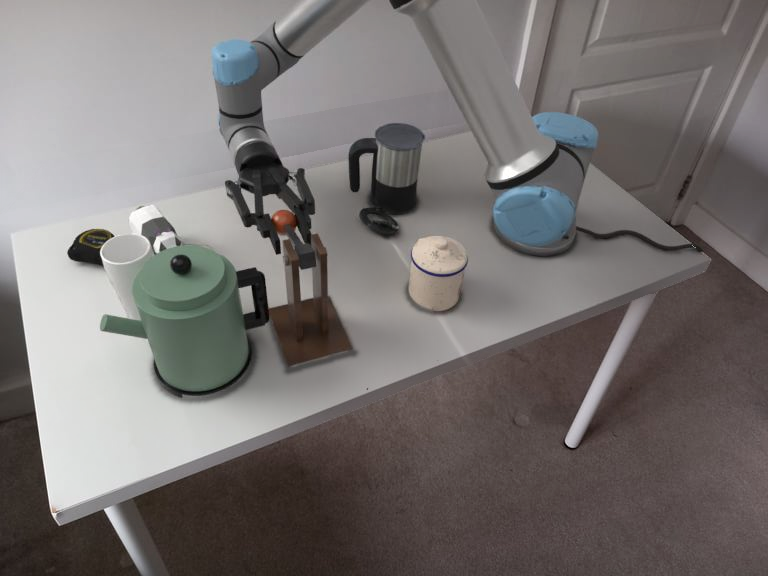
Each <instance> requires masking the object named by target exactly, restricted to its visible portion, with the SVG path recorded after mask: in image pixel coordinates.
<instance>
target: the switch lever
mask: <svg viewBox="0 0 768 576" xmlns="http://www.w3.org/2000/svg"><path fill="white" fill-rule="evenodd" d="M271 220H272V222H273V225H274V227H275V229H276V232H277V234H278V236H281V237H287V239H290V241H291V244H292V246H293V248H294V250H295V253H296V255H297V257H298V260H299V270H301V271H304V270H308V269H312V268H313V267H316V257H315V251H314V250H313V248H312V247H311V245H310V244H309V243H307V244H305V243H304V242H302V240H301V238H300V237H299V236H298V234H297V232H296V229H297V219H296V217H295V214H294V213H293V212H292V211H291V210H288V209H279V210H277V211H275V212H274V213H273V214H272V216H271Z"/></svg>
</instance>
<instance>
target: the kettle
mask: <svg viewBox="0 0 768 576" xmlns="http://www.w3.org/2000/svg"><path fill="white" fill-rule="evenodd" d="M247 287H250V288H251V294H252V302H253V303H252V304H253V310H254V311H250V312H246V313H244V311H243V305H242V299H241V292H240V289H242V288H247ZM132 295H133V298H134V301H135V304H136V307H137V310H138V313H139V316H140V319H141V321H139V320H134V319H129V318H128V317H122V316H117V315H112V314H106V313H104V315H102V317H101V320H100V323H99V330H100V331H101V332H104V333H109V334H115V335H122V336H128V337H134V338H140V339H146V340H147V342H148V346H149V348H150V351H151V353H152V356H153V370H154V374H155V377H156V379H157V381H158V383H159V384H160V385H161V387H162V388H163V389H164V390H165V391H166V392H168V393H169V394H171V395H173V396H175V397H178V398H181V399H183V396H189V397H201V396H208V395H213V394H215V393H219V392H221V391H223V390H226V389H228V388H230V387H231V386H233V385H234V384H235V383H237V382H238V381H240V379H241V378H242V377H243V376H244V374H246V372H247V370H248V369H249V367H250V365H251V363H252V359H253V346H252V342H251V340H250V338H249V336H248V335H247V331H249V330H252V329H257V328H260V327H264V326H266V324H268V323H269V322H270V320H271V318H270V316H269V299H268V292H267V282H266V276H265V274H264V272H262V271H260V270H258V269H257V267H256V266H254V267H249V268H245V269H241V270H236V268H235V266H234V265H233V263H232V262H231V261H230V259H228V258H227V257H225V256H224V255H222V254H220V253H217V252H216V251H215V250H214V249H213V250H212V248H208V247H205V246H202V245H197V244H184V245H183V244H182V246H176V247H172V248H169V249H166V250H163V251H161V252H159V253H157V254H156V255H154V256H153V257H152V258H150V259H149V260H148V261H147V262H146V263H145V265H144V266H143V268H142V269H141V270H140V272H139V273H138V274H137V276H136V278H135V280H134V282H133V286H132Z"/></svg>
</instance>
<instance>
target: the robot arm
mask: <svg viewBox="0 0 768 576" xmlns="http://www.w3.org/2000/svg"><path fill="white" fill-rule="evenodd" d="M370 1H371V0H296V1H295V2H294V3H293V4H292V5H291V6H290V7H289V8H288V9H286V11H284V12H283V13H282V14H281V15H280V16H278V18H277V19H276V20H275V21H274V22H273V23H271V24H270V25H269V26H268V28H267V29H265V30H264V31H263V32H262V33H261V34H259V35H258V36H257V37H256V38H254V39H253V40H251V41H248V40H244V39H236V38H235V39H227V40H226V41H219V42H218V43H216V44H215V45H214V46H213V48H212V50H211V59H212V60H211V61H212V76H213V80H214V84H215V91H216V98H217V104H218V116H217V122H218V127H219V132H220V134H221V136H222V138H223V140H224V142H225V145H226V147H227V150H228V151H229V154H230V157H231V159H232V162H233V165H234V167H235V170H236V172H237V175H238V178H237V179H238V180H235V181H233V180H230V179H228V180H224V185H225V187H224V188H225V192H226V193H225V194H226V196H227V197H228V198H229V199H230V200H231V201H233V204H234V206H235V208H236V210H237V213H238V216H239V217H240V219H241V222H242V224H243V226H244V227H245V228H247V229H248V228H251V227H252V226H256V230H257V231H258V232H259V234H260V237H261V238H262V239H268V238H269V241H270V242H271V246H272V249H273V251H274V253H275V255H276V256H277V255H281V254H282V247H281V239H280V235H278V234H277V232H276V229H275V227H274V225H273V222H272V220H271V218H272V216H270V213H269V212H268V213H265V212H264V197H267V196H269V195H275V196H276V197H277V198H278V199H279V200H281V201H283V203H284V204H285V205H286V206H287V207H288V208H289V209H290V212H292V213H293V214H294V215H295V217H296V219H297V227H296V229H298V231H299V234H300V236H301V239H302V241H303V244H307V243H309V244H310V245H311V234H312V231H311V230H312V225H313V224H312V218H311V216H314V215H315V214H316V199H315V198H314V195H313V193H312V191H311V189H310V187H309V185H308V182H307V180H306V171H305V168H303V167H299V168H297V171H290V170H289V169H288V168H287V167H285V166H284V164H283V162H282V160H281V158H280V156H279V154H278V152H277V150H276V148H275V146H274V144H273V142H272V140H271V138H270V135H269V134H268V132H267V130H266V128H265V123H264V112H263V100H262V98H263V97H262V91H263V90H264V89H266V88H267V87H268V86H269V85H270V84H272V83H273V82H274V81H275V80H277V79H278V78H279V77H280V76H282V75H283V74H284V73H285V72H287V71H288V70H290V69H291V68H293V67H294V66H295V65H297V64H298V63H299V62H300V60H301V59H302V58H304V56H306V55H307V54H308V53H309V52H310V51H311V50H313V49H314V48H315V47H316V46H318V45H319V44H320V43H321V42H322V41H323V40H325V39H326V38H327V37H328V36H329V35H330V34H332V33H334V31H336V30H337V29H338V28H339V27H341V26H342V25H343V23H345V22H346V21H347V20H348V19H350V18H351V17H353V15H354V14H356V13H357V12H358V11H359V10H360V9H361V8H363V7H364V6H365V5H367V4H368V3H369V2H370ZM388 1H389V3H390V5H391V7H392V8H393V10H394V12H396V13H398V14H403V15H406V16H408V17H410V18H411V19H412V21H413V23H414V25H415V27H416V29H417V31H418V33H419V35H420V37H421V39H422V40H423V42H424V44H425V46H426V48H427V50H428V51H429V53H430V56H431V57H432V59H433V61H434V64H435V65H436V67H437V69H438V72H439V73H440V74H441V77H442V79H443V80H444V82H445V84H446V86H447V88H448V90H449V92H450V93H451V95H452V97H453V100H454V101H455V103H456V105H457V107H458V108H459V111H460V113H461V114H462V116H463V118H464V120H465V122H466V124H467V126H468V128H469V130H470V131H471V134H472V135H473V137H474V139H475V141H476V143H477V144H478V147H479V149H480V151H481V152H482V154H483V156H484V158H485V160H486V163H487V165H486V167H485V169H484V172H483V176H484V179H485V182H486V183H487V186H488V187H489V189H490V191H491V192H492V193H491V194H492V195H493V196H494V198H495V201H494V204H493V208H492V211H493V213H492V215H493V227H494V231H495V233H496V235H497V237H498V238H499V239H500V241H502V242H503V243H505V245H507V246H508V247H510V248H512V249H514V250H516V251H518V252H521V253H524V254H527V255H531V256H540V257H545V256H546V257H547V256H554V255H555V256H556V255H559V254H561V253H563V252H565V251H567V250H568V249H569V248H570V247H571V246H572V244H573V242H574V240H575V236H576V234H577V231H578V232H581V233H584V234H587V235H589V236H592V237H594V238H598V239H608V238H613V237H615V236H620V235H631V236H635V237H637V238H639V239H641V240H642V241H644V242H646V243H648V244H649V245H651V246H653V247H655V248H657V249H660V250H664V251H679V250H680V251H681V250H685V249H695V250H697V249H698V250H697V251H698V252H699V253H703V252H704V250H703V248H702V246H700V245H699V244H696V243H685V244H680V245H673V246H672V245H666V244H665V245H664V244H661V243H658V242H657V241H656V240H655V241H654V240H652V239H651V238H649V237H647V236H646V235H645V234H642V233H640V232H638V231H635V230H629V229H620V230H616V231H613V232H610V233H604V234H603V233H598V232H595V231H592V230H590V229H586V228H584V227H581V226H579V225H577V215H576V213H577V212H576V211H577V208H578V206H579V201H580V198H581V194H582V191H583V187H584V183H585V179H586V176H587V173H588V170H589V167H590V164H591V161H592V158H593V154H594V152H595V149H597V147H598V144H597V143H598V139H599V131H598V129H597V127H596V126H595V125H594V124H592V123H591V122H590V121H587V120H586V119H584V118H582V117H579V116H577V115H573V114H569V113H565V112H560V111H559V112H558V111H546V112H545V111H544V112H539V113H537V114H535V115H533V116H532V115H531V113H530V110H529V108H528V106H527V103H526V102H525V99H524V97H523V96H522V93H521V91H520V89H519V87H518V85H517V82H516V81H515V78H514V77H513V74H512V72H511V69H510V67H509V66H508V64H507V61H506V59H505V58H504V55H503V53H502V50H501V48H500V47H499V45H498V43H497V40H496V38H495V36H494V35H493V32H492V30H491V28H490V26H489V23H488V22H487V19H486V17H485V15H484V13H483V11H482V9H481V7H480V4H479V3H478V0H388ZM290 181H291V182H292V183H293V184H294V186H295V187H296V189H297V192H298V194H299V196H300V197H299V196H298V195H297V194H296V193H295V192H294V191H293V190H292V188H291V187H290V186H289V185H288V183H289V182H290ZM242 190H244V191H246V192H248V193H251V194H252V195H253V198H254V212H251V210H250V207H249V206H248V204H247V202H246V200H245V197H244V195H243V193H242ZM692 245H693V246H694V247H696V248H694V247H693V246H692Z"/></svg>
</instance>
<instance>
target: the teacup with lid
mask: <svg viewBox="0 0 768 576" xmlns="http://www.w3.org/2000/svg"><path fill="white" fill-rule="evenodd" d="M410 259H411V263H410V270H409V271H410V272H409V279H408V288H407V289H408V293H409V296H410V298H411V299H412V300H413V301H414V302H415V303H417V304H418V305H420V306H422V307H425V308H428V309H431V311H432V312H442V311H447V310H449V309H451V308H453V307H454V306H455V305H456V304H457V303H458V301H459V298H460V294H461V289H462V284H463V279H464V274H465V270H466V267H467V266H468V263H469V256H468V252H467V251H466V249H465V247H464V246H463V245H462V244H461V243H460V242H458V241H457V240H456V239H453V238H450V237H448V236H447V237H446V236H443V235H432V236H431V235H430V236H427V237H420V238H419V239H418V240H417V242H416V243H415V244H414V245H413V247H412V249H411V251H410Z"/></svg>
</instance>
